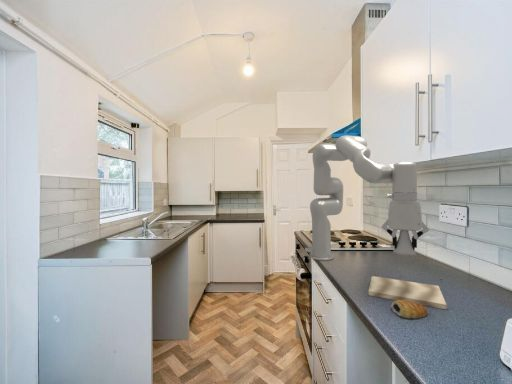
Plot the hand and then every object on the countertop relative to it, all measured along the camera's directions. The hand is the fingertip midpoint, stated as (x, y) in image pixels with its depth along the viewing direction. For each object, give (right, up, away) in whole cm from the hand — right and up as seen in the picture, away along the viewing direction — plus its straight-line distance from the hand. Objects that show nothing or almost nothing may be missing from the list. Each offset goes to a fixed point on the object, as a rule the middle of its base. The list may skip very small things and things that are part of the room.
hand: (404, 248), depth 89 cm
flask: (0, -2, 0) cm, 2 cm away
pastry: (-7, -17, -13) cm, 23 cm away
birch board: (0, -16, +1) cm, 16 cm away
